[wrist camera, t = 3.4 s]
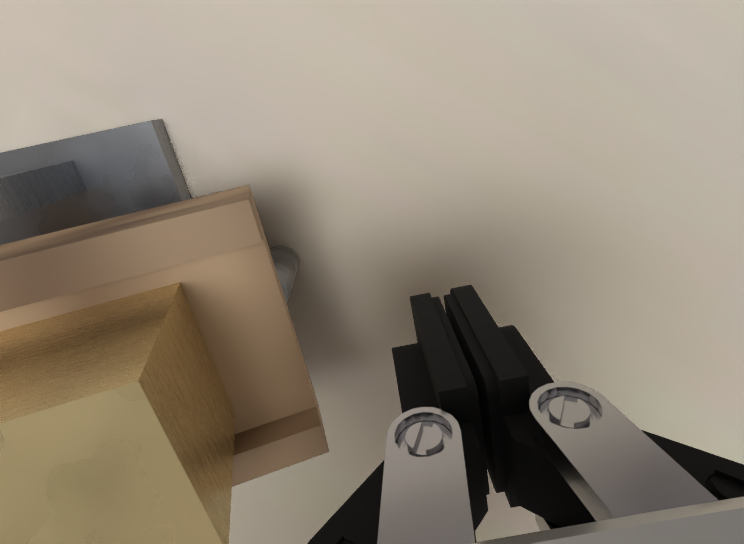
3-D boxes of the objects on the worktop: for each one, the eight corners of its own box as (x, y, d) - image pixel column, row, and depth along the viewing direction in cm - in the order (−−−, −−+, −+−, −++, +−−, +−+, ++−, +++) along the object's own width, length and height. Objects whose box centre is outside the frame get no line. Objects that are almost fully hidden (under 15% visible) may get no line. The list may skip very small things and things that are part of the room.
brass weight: (180, 281, 12) (137, 381, 8) (235, 413, 14) (228, 554, 10) (-51, 344, 11) (-258, 502, 7) (44, 477, 13) (-66, 668, 9)
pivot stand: (253, 99, 17) (194, 103, 11) (332, 378, 22) (325, 489, 16) (-226, 202, 17) (-548, 263, 11) (-34, 448, 23) (-177, 580, 17)
